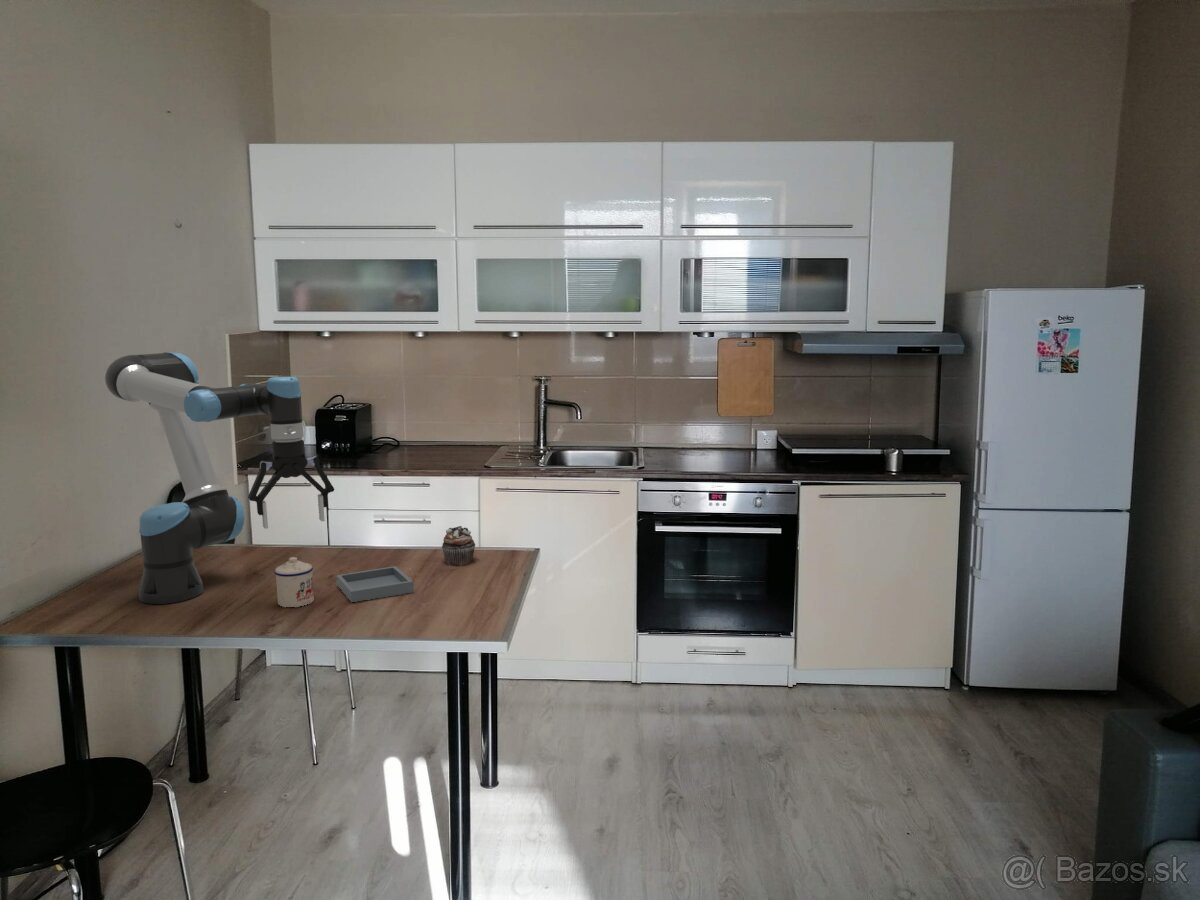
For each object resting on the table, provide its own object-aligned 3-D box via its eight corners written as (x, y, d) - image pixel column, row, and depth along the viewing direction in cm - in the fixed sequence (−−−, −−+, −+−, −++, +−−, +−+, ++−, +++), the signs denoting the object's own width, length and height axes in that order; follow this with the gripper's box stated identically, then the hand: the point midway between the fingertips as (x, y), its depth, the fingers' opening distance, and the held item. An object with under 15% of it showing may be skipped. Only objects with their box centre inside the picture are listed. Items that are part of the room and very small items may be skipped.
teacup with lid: (302, 609, 222) (299, 564, 220) (269, 607, 224) (266, 562, 222) (327, 594, 233) (324, 550, 231) (296, 592, 235) (293, 548, 233)
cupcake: (435, 562, 260) (433, 528, 259) (461, 555, 268) (459, 522, 266) (456, 568, 254) (455, 533, 253) (482, 560, 261) (481, 527, 260)
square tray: (351, 603, 226) (350, 591, 225) (337, 586, 240) (336, 575, 239) (413, 592, 233) (413, 581, 233) (396, 576, 247) (395, 566, 247)
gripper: (235, 446, 212) (243, 533, 216) (342, 437, 224) (348, 520, 228) (231, 442, 219) (239, 527, 222) (335, 433, 231) (341, 514, 234)
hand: (294, 523), depth 225 cm, fingers open, 13 cm apart
